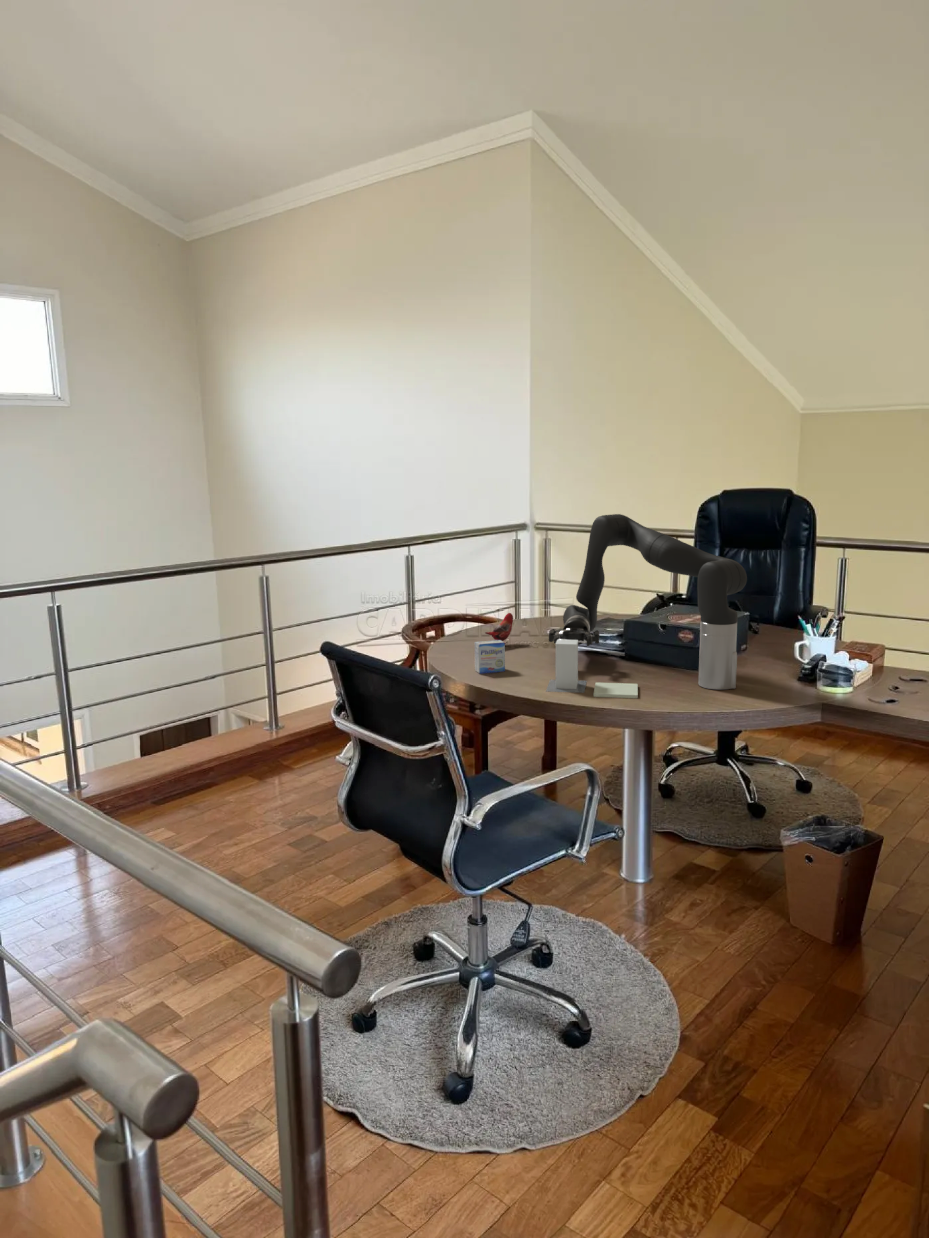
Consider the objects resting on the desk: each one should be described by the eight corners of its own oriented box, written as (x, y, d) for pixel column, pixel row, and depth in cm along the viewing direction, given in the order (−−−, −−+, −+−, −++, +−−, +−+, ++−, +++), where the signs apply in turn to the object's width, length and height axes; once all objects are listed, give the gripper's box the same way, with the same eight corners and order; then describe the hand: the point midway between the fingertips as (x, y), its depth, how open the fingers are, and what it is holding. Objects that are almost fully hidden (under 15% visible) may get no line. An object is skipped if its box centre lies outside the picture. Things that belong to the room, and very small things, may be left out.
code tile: (586, 681, 236) (586, 680, 236) (584, 693, 224) (584, 692, 224) (550, 680, 238) (550, 679, 238) (545, 692, 226) (545, 691, 226)
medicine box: (478, 674, 246) (478, 644, 244) (474, 670, 250) (474, 641, 248) (505, 671, 248) (505, 642, 246) (500, 668, 252) (500, 639, 250)
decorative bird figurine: (517, 641, 287) (517, 612, 285) (489, 652, 272) (488, 621, 270) (509, 640, 288) (509, 611, 286) (481, 651, 274) (480, 620, 272)
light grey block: (577, 683, 233) (578, 639, 231) (576, 688, 228) (576, 644, 226) (557, 682, 234) (557, 639, 232) (555, 688, 229) (555, 643, 227)
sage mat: (637, 687, 229) (637, 683, 229) (637, 699, 218) (637, 695, 218) (595, 686, 231) (595, 682, 231) (593, 697, 221) (593, 693, 220)
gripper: (552, 616, 257) (547, 627, 241) (601, 617, 254) (598, 629, 238) (552, 641, 258) (546, 654, 243) (600, 642, 256) (598, 656, 240)
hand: (572, 642), depth 241 cm, fingers open, 8 cm apart
